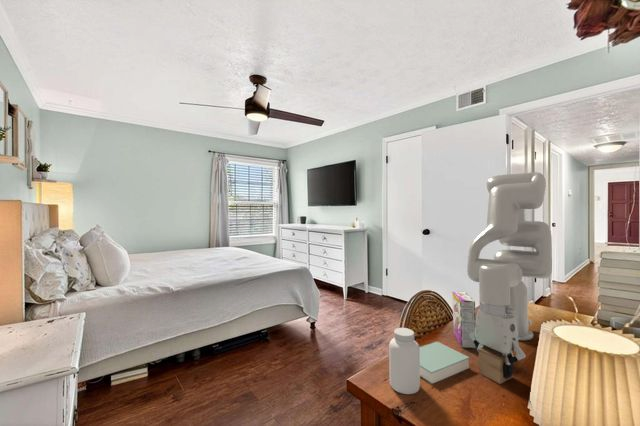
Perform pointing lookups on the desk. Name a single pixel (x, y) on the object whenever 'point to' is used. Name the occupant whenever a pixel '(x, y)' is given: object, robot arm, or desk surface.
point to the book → (440, 362)
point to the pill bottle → (404, 362)
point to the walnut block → (492, 364)
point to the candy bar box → (463, 318)
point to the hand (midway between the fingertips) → (495, 370)
